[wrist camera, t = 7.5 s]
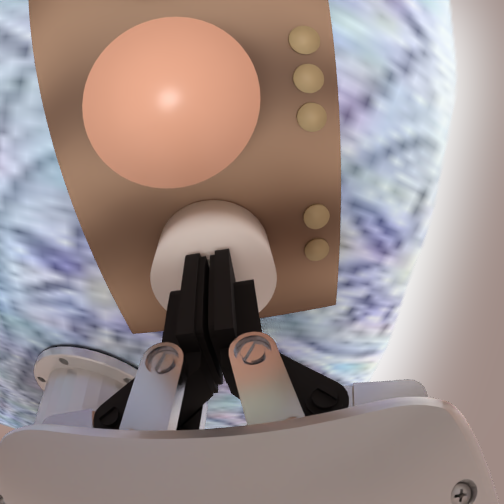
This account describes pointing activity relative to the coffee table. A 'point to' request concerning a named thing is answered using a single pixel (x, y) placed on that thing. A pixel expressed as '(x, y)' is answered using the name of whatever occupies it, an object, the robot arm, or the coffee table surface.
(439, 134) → the coffee table surface
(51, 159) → the coffee table surface
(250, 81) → the terracotta button
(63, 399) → the robot arm
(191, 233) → the off-white button
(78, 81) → the button board
